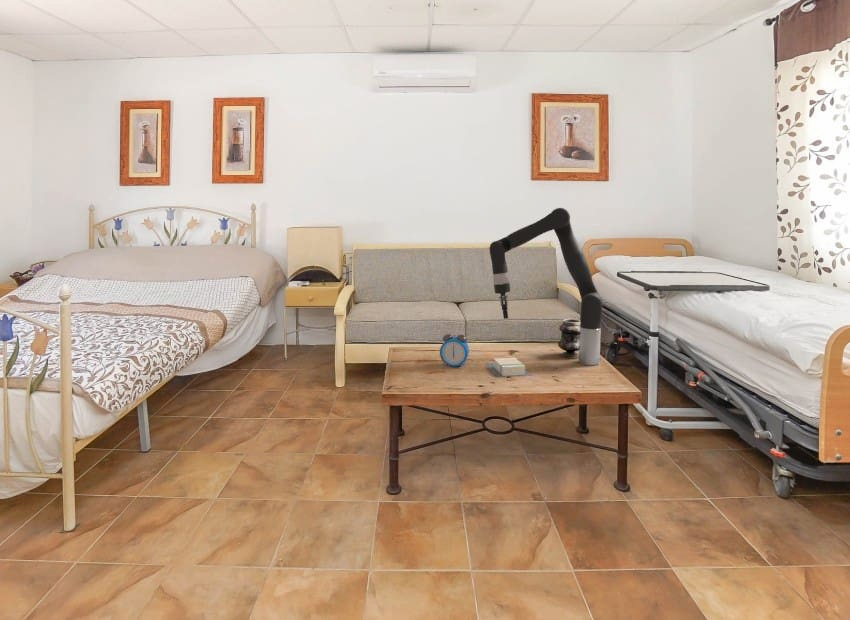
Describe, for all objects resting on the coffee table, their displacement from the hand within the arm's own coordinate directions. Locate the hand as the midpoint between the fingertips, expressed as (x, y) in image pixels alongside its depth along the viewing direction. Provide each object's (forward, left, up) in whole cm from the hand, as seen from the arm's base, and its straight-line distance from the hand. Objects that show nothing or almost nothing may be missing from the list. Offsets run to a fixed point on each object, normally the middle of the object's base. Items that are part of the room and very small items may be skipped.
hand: (506, 318), depth 253 cm
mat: (+14, +12, -20) cm, 27 cm away
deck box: (+11, +9, -18) cm, 23 cm away
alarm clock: (+25, -10, -21) cm, 34 cm away
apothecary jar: (-28, +19, -21) cm, 39 cm away
